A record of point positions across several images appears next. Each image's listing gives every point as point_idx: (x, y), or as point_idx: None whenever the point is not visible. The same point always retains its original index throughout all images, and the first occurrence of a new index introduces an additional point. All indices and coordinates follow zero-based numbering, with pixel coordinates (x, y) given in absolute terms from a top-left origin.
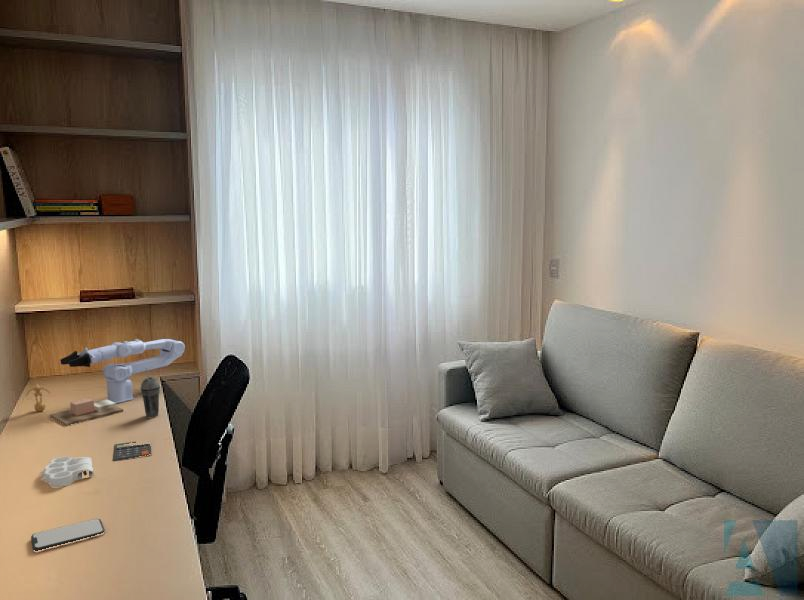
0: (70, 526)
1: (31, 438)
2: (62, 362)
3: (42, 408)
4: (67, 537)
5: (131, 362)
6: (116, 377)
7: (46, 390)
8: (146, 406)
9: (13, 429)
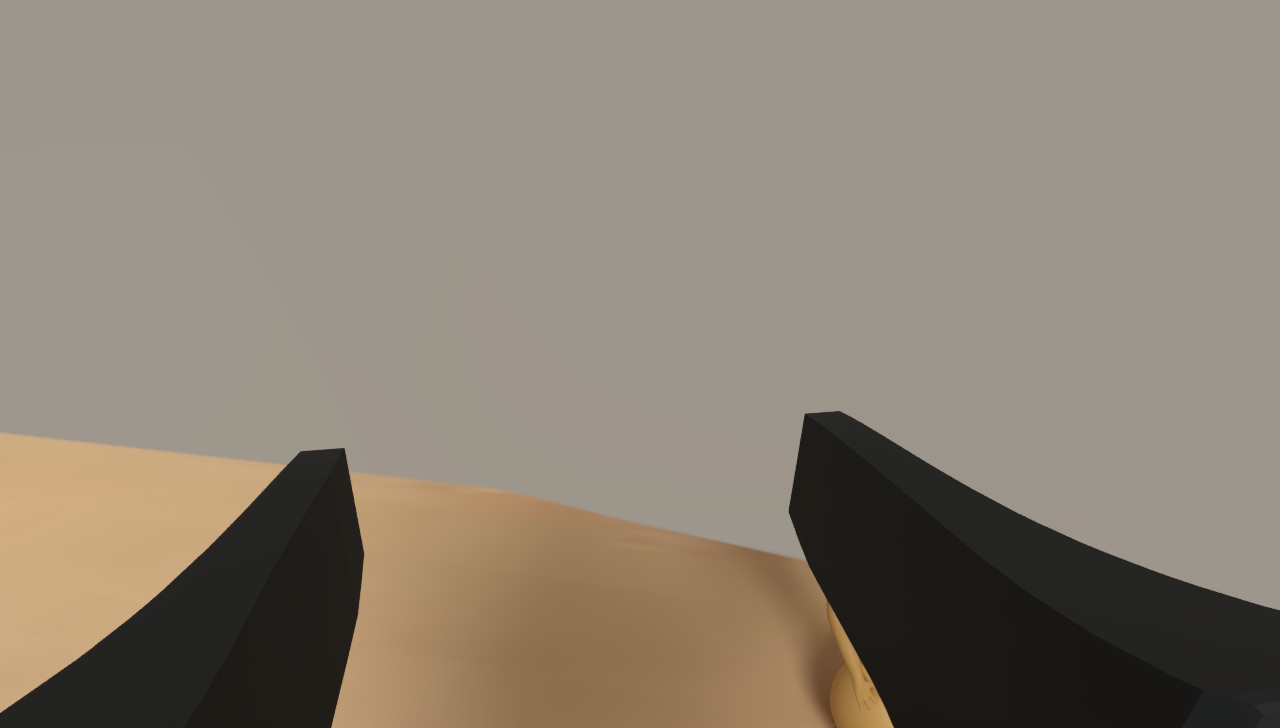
0: None
1: (189, 560)
2: (801, 489)
3: (836, 725)
4: None
5: None
6: None
7: (836, 635)
8: None
9: (497, 517)
